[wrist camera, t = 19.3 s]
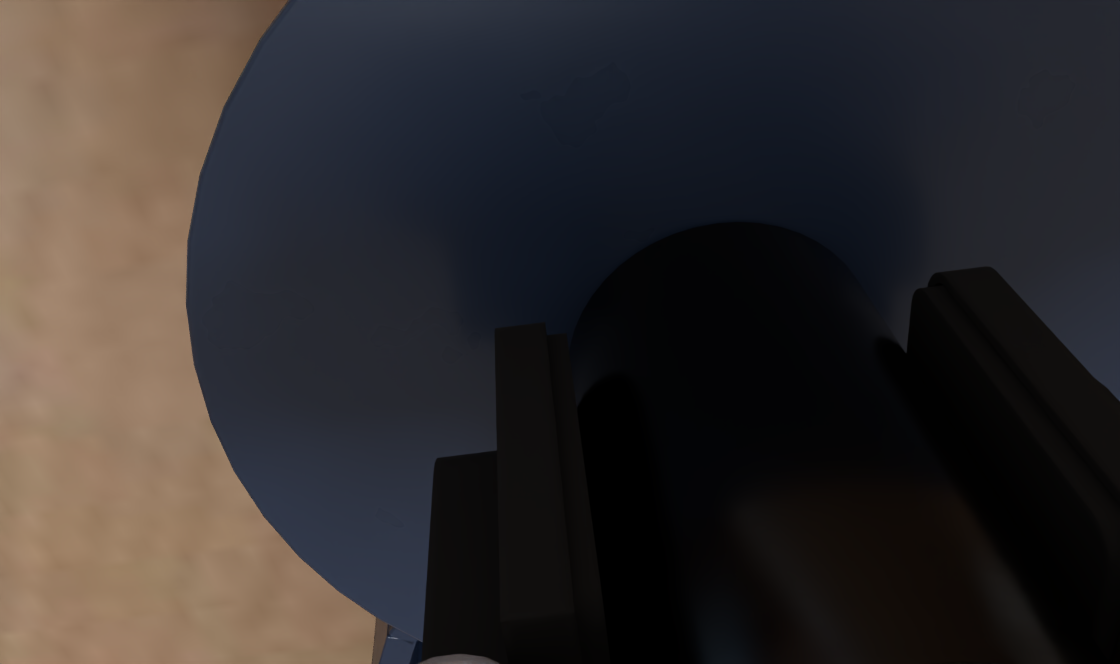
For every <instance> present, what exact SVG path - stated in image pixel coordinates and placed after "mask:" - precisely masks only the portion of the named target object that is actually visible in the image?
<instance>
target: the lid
mask: <svg viewBox="0 0 1120 664" xmlns="http://www.w3.org/2000/svg"><path fill="white" fill-rule="evenodd" d="M985 266H987V267H992V268H993V269H995V270H996V271H997V272H998V273H999V274H1000V275H1001V276H1002V277H1003V279H1004V280H1005V281H1006V282H1007V283H1008V284H1009V285H1010V286H1011V287H1012V288H1013V289H1014V291H1015V292H1016V293H1017V294H1018V295H1019V296H1020V297H1021V298H1022V299H1023V300H1024V302H1025V303H1026V304H1027V305H1028V306H1029V307H1030V308H1031V309H1032V310H1033V311H1034V312H1035V314H1036V315H1037V316H1038V317H1039V318H1040V319H1041V320H1042V321H1043V322H1044V323H1045V324H1046V326H1047V327H1048V328H1049V329H1050V330H1051V331H1052V332H1053V333H1054V334H1055V335H1056V336H1057V338H1058V339H1059V340H1060V341H1061V342H1062V343H1063V344H1064V345H1065V346H1066V347H1067V348H1068V350H1069V351H1070V352H1071V353H1072V354H1073V355H1074V356H1075V357H1076V358H1077V359H1078V360H1079V362H1080V363H1081V364H1082V365H1083V366H1084V367H1085V368H1086V369H1087V370H1088V371H1089V373H1090V374H1091V375H1092V376H1093V377H1094V378H1095V379H1097V380H1098V381H1099V382H1100V383H1102V384H1103V385H1104V386H1105V387H1107V388H1108V389H1109V391H1110V392H1111V393H1112V394H1113V395H1114V396H1115V397H1116V398H1117V399H1118V400H1119V401H1120V0H288V1H287V3H286V4H285V5H284V7H283V8H282V9H281V11H280V12H279V13H278V15H277V16H276V17H275V19H274V20H273V21H272V23H271V24H270V25H269V27H268V28H267V30H266V31H265V33H264V34H263V35H262V37H261V38H260V40H259V42H258V44H257V46H256V47H255V49H254V51H253V53H252V55H251V57H250V59H249V61H248V62H247V64H246V66H245V68H244V70H243V72H242V74H241V75H240V77H239V79H238V81H237V83H236V85H235V87H234V88H233V90H232V92H231V94H230V96H229V98H228V100H227V101H226V103H225V105H224V107H223V110H222V113H221V116H220V119H219V121H218V124H217V127H216V130H215V133H214V136H213V138H212V141H211V144H210V147H209V150H208V153H207V155H206V158H205V161H204V164H203V167H202V170H201V172H200V176H199V181H198V187H197V192H196V198H195V203H194V208H193V214H192V219H191V225H190V230H189V235H188V242H187V282H186V309H187V316H188V324H189V331H190V339H191V346H192V354H193V361H194V366H195V370H196V373H197V376H198V380H199V383H200V387H201V390H202V393H203V397H204V400H205V404H206V407H207V410H208V414H209V417H210V420H211V423H212V425H213V427H214V429H215V431H216V434H217V436H218V438H219V440H220V442H221V444H222V446H223V448H224V451H225V453H226V455H227V457H228V459H229V461H230V463H231V466H232V468H233V470H234V472H235V473H236V475H237V476H238V478H239V480H240V481H241V483H242V484H243V486H244V487H245V489H246V490H247V492H248V493H249V495H250V496H251V498H252V499H253V501H254V502H255V504H256V505H257V507H258V508H259V510H260V511H261V513H262V514H263V516H264V517H265V518H266V520H267V521H268V522H269V523H270V524H271V525H272V526H273V528H274V529H275V530H276V531H277V532H278V533H279V534H280V536H281V537H282V538H283V539H284V540H285V541H286V542H287V544H288V545H289V546H290V547H291V548H292V549H293V550H294V552H295V553H296V554H297V555H298V556H299V557H300V558H301V559H302V560H303V561H304V562H306V563H307V564H308V565H309V566H310V567H311V568H312V569H314V570H315V571H316V572H317V573H318V574H319V575H320V576H322V577H323V578H324V579H325V580H326V581H327V582H328V583H329V584H331V585H332V586H333V587H334V588H335V589H336V590H337V591H339V592H340V593H342V594H343V595H345V596H346V597H348V598H349V599H350V600H352V601H353V602H355V603H356V604H358V605H359V606H361V607H362V608H364V609H365V610H367V611H368V612H369V613H371V614H372V615H374V616H375V617H377V618H378V619H380V620H381V621H383V622H385V623H387V624H389V625H391V626H393V627H395V628H397V629H398V630H400V631H402V632H404V633H406V634H408V635H410V636H412V637H414V638H415V639H417V640H419V641H421V642H423V628H424V612H425V597H426V581H427V565H428V550H429V534H430V518H431V503H432V487H433V472H434V464H435V461H436V459H437V458H441V457H449V456H456V455H464V454H472V453H480V452H488V451H496V450H497V433H496V383H495V328H501V327H509V326H517V325H525V324H533V323H541V322H545V325H546V331H547V335H553V334H561V333H567V340H568V347H569V354H570V362H571V369H572V376H573V384H574V391H575V398H576V406H577V413H578V421H579V428H580V435H581V443H582V450H583V457H584V465H585V472H586V479H587V487H588V494H589V501H590V509H591V516H592V524H593V531H594V538H595V546H596V553H597V560H598V568H599V575H600V582H601V590H602V598H603V605H604V613H605V621H606V629H607V637H608V646H609V654H610V663H611V664H1110V663H1109V661H1108V660H1107V658H1106V656H1105V655H1104V653H1103V652H1102V650H1101V649H1100V647H1099V646H1098V644H1097V643H1096V641H1095V640H1094V638H1093V637H1092V635H1091V634H1090V632H1089V631H1088V629H1087V628H1086V626H1085V625H1084V623H1083V622H1082V620H1081V619H1080V617H1079V615H1078V614H1077V612H1076V611H1075V609H1074V608H1073V606H1072V605H1071V603H1070V602H1069V600H1068V599H1067V597H1066V596H1065V594H1064V593H1063V591H1062V590H1061V588H1060V587H1059V585H1058V584H1057V582H1056V581H1055V579H1054V578H1053V576H1052V574H1051V573H1050V571H1049V570H1048V568H1047V567H1046V565H1045V564H1044V562H1043V561H1042V559H1041V558H1040V556H1039V555H1038V553H1037V552H1036V550H1035V549H1034V547H1033V546H1032V544H1031V543H1030V541H1029V540H1028V538H1027V537H1026V535H1025V533H1024V532H1023V530H1022V529H1021V527H1020V526H1019V524H1018V523H1017V521H1016V520H1015V518H1014V517H1013V515H1012V514H1011V512H1010V511H1009V509H1008V508H1007V506H1006V505H1005V503H1004V502H1003V500H1002V499H1001V497H1000V496H999V494H998V492H997V491H996V489H995V488H994V486H993V485H992V483H991V482H990V480H989V479H988V477H987V476H986V474H985V473H984V471H983V470H982V468H981V467H980V465H979V464H978V462H977V461H976V459H975V458H974V456H973V454H972V453H971V451H970V450H969V448H968V447H967V445H966V444H965V442H964V441H963V439H962V438H961V436H960V435H959V433H958V432H957V430H956V429H955V427H954V426H953V424H952V423H951V421H950V420H949V418H948V417H947V415H946V413H945V412H944V410H943V409H942V407H941V406H940V404H939V403H938V401H937V400H936V398H935V397H934V395H933V394H932V392H931V391H930V389H929V388H928V386H927V385H926V383H925V382H924V380H923V379H922V377H921V376H920V374H919V372H918V371H917V369H916V368H915V366H914V365H913V363H912V362H911V360H910V359H909V357H908V356H907V354H906V352H907V342H908V332H909V321H910V311H911V302H912V297H913V294H914V292H915V290H917V289H918V288H925V287H927V286H928V282H929V280H930V278H931V276H932V275H933V274H935V273H937V272H945V271H953V270H961V269H969V268H977V267H985Z"/></svg>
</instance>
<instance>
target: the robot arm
mask: <svg viewBox="0 0 1120 664" xmlns="http://www.w3.org/2000/svg"><path fill="white" fill-rule="evenodd" d="M906 354H907V356H908V357H909V359H910V360H911V362H912V363H913V365H914V366H915V368H916V369H917V371H918V372H919V374H920V376H921V377H922V379H923V380H924V382H925V383H926V385H927V386H928V388H929V389H930V391H931V392H932V394H933V395H934V397H935V398H936V400H937V401H938V403H939V404H940V406H941V407H942V409H943V410H944V412H945V413H946V415H947V417H948V418H949V420H950V421H951V423H952V424H953V426H954V427H955V429H956V430H957V432H958V433H959V435H960V436H961V438H962V439H963V441H964V442H965V444H966V445H967V447H968V448H969V450H970V451H971V453H972V454H973V456H974V458H975V459H976V461H977V462H978V464H979V465H980V467H981V468H982V470H983V471H984V473H985V474H986V476H987V477H988V479H989V480H990V482H991V483H992V485H993V486H994V488H995V489H996V491H997V492H998V494H999V496H1000V497H1001V499H1002V500H1003V502H1004V503H1005V505H1006V506H1007V508H1008V509H1009V511H1010V512H1011V514H1012V515H1013V517H1014V518H1015V520H1016V521H1017V523H1018V524H1019V526H1020V527H1021V529H1022V530H1023V532H1024V533H1025V535H1026V537H1027V538H1028V540H1029V541H1030V543H1031V544H1032V546H1033V547H1034V549H1035V550H1036V552H1037V553H1038V555H1039V556H1040V558H1041V559H1042V561H1043V562H1044V564H1045V565H1046V567H1047V568H1048V570H1049V571H1050V573H1051V574H1052V576H1053V578H1054V579H1055V581H1056V582H1057V584H1058V585H1059V587H1060V588H1061V590H1062V591H1063V593H1064V594H1065V596H1066V597H1067V599H1068V600H1069V602H1070V603H1071V605H1072V606H1073V608H1074V609H1075V611H1076V612H1077V614H1078V615H1079V617H1080V619H1081V620H1082V622H1083V623H1084V625H1085V626H1086V628H1087V629H1088V631H1089V632H1090V634H1091V635H1092V637H1093V638H1094V640H1095V641H1096V643H1097V644H1098V646H1099V647H1100V649H1101V650H1102V652H1103V653H1104V655H1105V656H1106V658H1107V660H1108V661H1109V663H1110V664H1120V401H1119V400H1118V399H1117V398H1116V397H1115V396H1114V395H1113V394H1112V393H1111V392H1110V391H1109V389H1108V388H1107V387H1105V386H1104V385H1103V384H1102V383H1100V382H1099V381H1098V380H1097V379H1095V378H1094V377H1093V376H1092V375H1091V374H1090V373H1089V371H1088V370H1087V369H1086V368H1085V367H1084V366H1083V365H1082V364H1081V363H1080V362H1079V360H1078V359H1077V358H1076V357H1075V356H1074V355H1073V354H1072V353H1071V352H1070V351H1069V350H1068V348H1067V347H1066V346H1065V345H1064V344H1063V343H1062V342H1061V341H1060V340H1059V339H1058V338H1057V336H1056V335H1055V334H1054V333H1053V332H1052V331H1051V330H1050V329H1049V328H1048V327H1047V326H1046V324H1045V323H1044V322H1043V321H1042V320H1041V319H1040V318H1039V317H1038V316H1037V315H1036V314H1035V312H1034V311H1033V310H1032V309H1031V308H1030V307H1029V306H1028V305H1027V304H1026V303H1025V302H1024V300H1023V299H1022V298H1021V297H1020V296H1019V295H1018V294H1017V293H1016V292H1015V291H1014V289H1013V288H1012V287H1011V286H1010V285H1009V284H1008V283H1007V282H1006V281H1005V280H1004V279H1003V277H1002V276H1001V275H1000V274H999V273H998V272H997V271H996V270H995V269H993V268H992V267H987V266H985V267H977V268H969V269H961V270H953V271H945V272H937V273H935V274H933V275H932V276H931V278H930V280H929V282H928V286H927V287H925V288H918V289H917V290H915V292H914V294H913V297H912V302H911V311H910V321H909V332H908V342H907V352H906ZM495 383H496V433H497V450H496V451H488V452H480V453H472V454H464V455H456V456H449V457H441V458H437V459H436V461H435V464H434V472H433V487H432V503H431V518H430V534H429V550H428V565H427V581H426V597H425V612H424V628H423V644H422V659H421V662H420V663H417V664H611V663H610V654H609V646H608V637H607V629H606V621H605V613H604V605H603V598H602V590H601V582H600V575H599V568H598V560H597V553H596V546H595V538H594V531H593V524H592V516H591V509H590V501H589V494H588V487H587V479H586V472H585V465H584V457H583V450H582V443H581V435H580V428H579V421H578V413H577V406H576V398H575V391H574V384H573V376H572V369H571V362H570V354H569V347H568V340H567V333H561V334H553V335H547V331H546V325H545V322H541V323H533V324H525V325H517V326H509V327H501V328H495Z"/></svg>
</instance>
